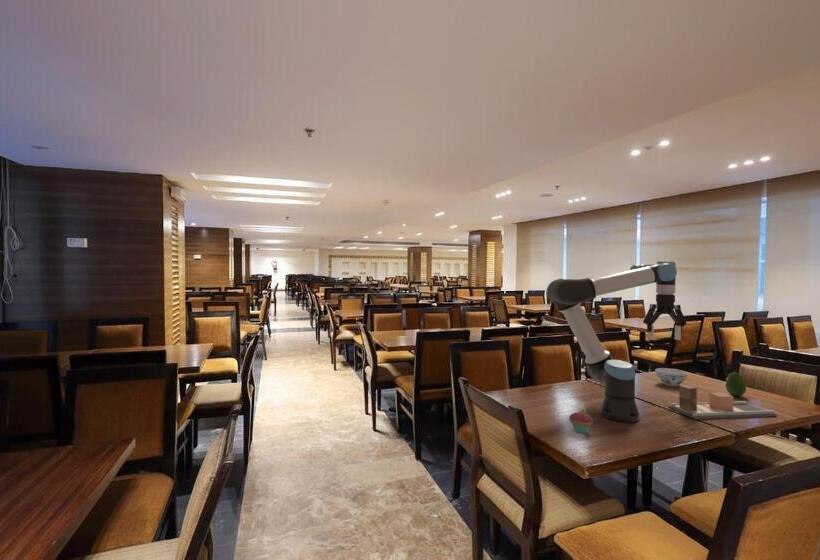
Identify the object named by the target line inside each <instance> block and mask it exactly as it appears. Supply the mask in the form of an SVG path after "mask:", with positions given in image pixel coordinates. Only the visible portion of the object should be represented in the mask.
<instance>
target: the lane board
mask: <svg viewBox="0 0 820 560" xmlns="http://www.w3.org/2000/svg"><path fill="white" fill-rule="evenodd" d="M669 404H670V405H668V408H669V409H671V410H673V411H676V412H678V413H680V414H683V415H684V416H687V417H689V418H692V419H694V420H715V419H717V418H720V419H743V418H746V417H748V418H765V417H766V418H768V417H767V416H776V417H777V415H778V414H777V413H776V412H775V410H774V409H768V410H765V409H762V408H759V407H757V406H753V405H751V404H748V401H746V400H744V401H743V400H738V401H733V407H736V408H738V409H741V410H744V411H735V412H705V413H692V415H691V414H689V413H686V412H684V411H682V410H679V409H677V408H675V407H674V405H679V402H678V403H677V402H675V403H672V402H671V403H669ZM704 404H709V401H708V402H705V401H704V402H697V405H704Z"/></svg>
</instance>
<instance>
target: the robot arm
mask: <svg viewBox="0 0 820 560" xmlns="http://www.w3.org/2000/svg"><path fill="white" fill-rule="evenodd" d="M677 273H678V271H677V264H676V262H675V261H673V260H658V261H657V262H656V263H655V264H654V263H651V264H649V263H648V264H641V263H639V264H633V265H631V266H630V268H629V270H627V271H622V272H618V273H614V274H609V275H605V276H601V277H596V278H590V277H586V278H580V279H575V278H574V279H572V278H568V279H567V278H565V279H564V278H557V279H554V280H552V281H551V282H550V283H548V286H547V287H546V290H545V291H546V292H545V293H546V297H547V299H548V300H549V301H550V302H551V303H553V305H554V307H555V308H556V310H557V312H560V313H562V314H563V316H564V318H565V320H566V322H567V324H568V325H569V328H570V329H571V331H572V333H573V335H574V337H575V339H576V340H577V341H576V342H578V344H579V346H580V349H581V350H582V352H583V354H584V356H585V359H584V363H585V365H586V372H587V374H588V376H590V377H591V379H592V380H594V381H595V382H597V383H599V384H602V385H603V386H604V396H603V400H602V403H601V405H600V408H599V414H600V416H602V417H603V418H605V419H608V420H612V421H615V422H622V423H634V422H635V423H636V422H639V420H640V418H641V417H640V412H639V408H638V405H637V403H636V369H635V366H634V365H633V364H632V363H630V362H628V361H625V360H624V361H623V360H620V359H614V358H613V356H612V355H611V353H610V351H608V350H605V349H604V347H603V345H602V343H601V341H600V340H599V338H598V336H597V333H596V332H595V330H594V328H593V327H592V325H591V323H590V320H589V319H588V317H587V315H586V313H585V312H584V309H583V308H582V306H581V305H582V303H583V302H587V301H591V300H592V301H593V300H595V299H596V298H597V297H599V296H602V295H607V294H611V293H615V292H619V291H625V290H628V289H632V288H637V287H641V286H646V285H650V284H654V283H656V284H655V285H656V286H655V293H656V295H655V302H656V303H650V304H649V308H648V311H647V313H646V314H645V316H644V319H643V321H642V323H643V324H645V325H646V332H647V334H648V335H647V339H648V340H652V341H653V340H654V339H655V325H654V324H655V322H656V321H657V320H658V319H659V318H660V316H661V315H668V316H669V317H670V319H672V320H673V322H674V323H675V325H674V340H676V341H681V340H682V339H681V338H682V337H681V336H682V332H683V327H685V326H686V325H687V322H686V319H685V316H684V314H683V312H682V308H681V304H675V302H676V295H675V294H676V280H677V279H676V277H677Z"/></svg>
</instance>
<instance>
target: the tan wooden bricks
mask: <svg viewBox="0 0 820 560" xmlns="http://www.w3.org/2000/svg"><path fill="white" fill-rule="evenodd" d="M678 387H679V392H678V393H679V398H678V399H679V402H678V403H679V405H674V407H675V408H677V409H679V410H682V411H684V412H686V413H689V414H691V415H692V413H705V412H735V411H744V410H741V409H738V408H736V407H733V410H719V409H716V408H713V407H711V406H709V404H704V405H697V403H698V402H697V401H698V398H697V397H698V396H697V394H698V388H697V387H694V386H692V385H689V384H678Z"/></svg>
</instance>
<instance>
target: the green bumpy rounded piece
mask: <svg viewBox="0 0 820 560" xmlns="http://www.w3.org/2000/svg"><path fill="white" fill-rule="evenodd" d="M726 379H727V380H726V381H725V389H726V391H727V392H728V393H729V395H731V396H733V397H742V396H744V395H745V393H746V391H747V386H746V383H745V381H744V379H743V376H742V375H741V374H739V373H738V372H735V371H734V372H730V373H729V374H728V376H727V378H726Z"/></svg>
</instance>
